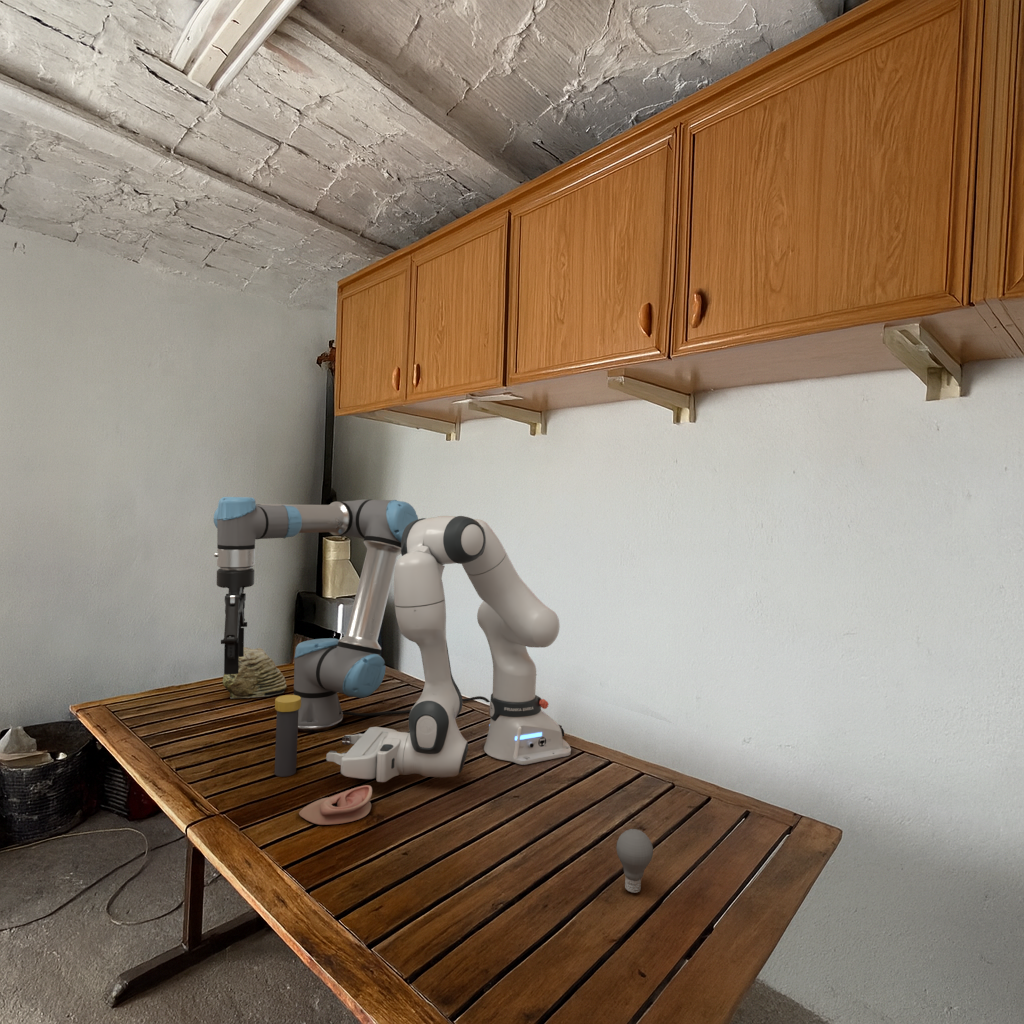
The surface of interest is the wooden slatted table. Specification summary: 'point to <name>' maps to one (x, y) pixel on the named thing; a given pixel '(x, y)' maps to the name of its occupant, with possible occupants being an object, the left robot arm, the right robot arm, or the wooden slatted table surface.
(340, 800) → the anatomical model
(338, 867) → the wooden slatted table surface
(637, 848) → the light bulb
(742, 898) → the wooden slatted table surface
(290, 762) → the jar
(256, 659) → the fossil
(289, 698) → the lid
